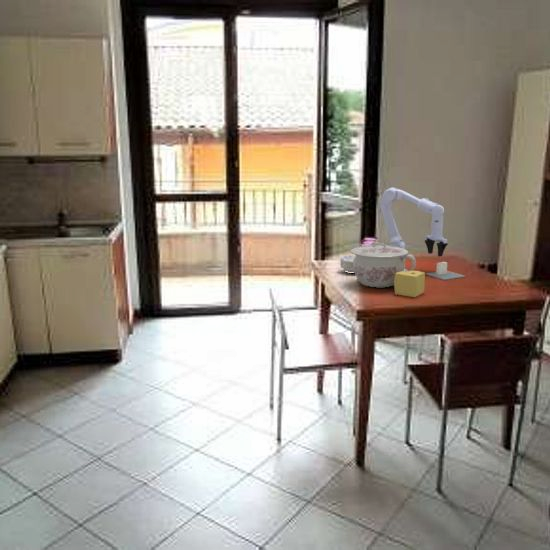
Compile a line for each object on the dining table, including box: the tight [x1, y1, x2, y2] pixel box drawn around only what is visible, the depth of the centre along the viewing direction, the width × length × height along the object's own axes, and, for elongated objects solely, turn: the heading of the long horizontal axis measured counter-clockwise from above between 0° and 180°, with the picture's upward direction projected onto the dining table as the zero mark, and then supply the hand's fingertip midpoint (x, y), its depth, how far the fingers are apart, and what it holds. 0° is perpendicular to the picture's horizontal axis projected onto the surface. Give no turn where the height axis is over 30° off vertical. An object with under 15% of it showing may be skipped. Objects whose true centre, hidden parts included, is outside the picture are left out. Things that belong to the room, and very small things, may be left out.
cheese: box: [393, 270, 426, 298], centre depth 249 cm, size 10×11×10 cm
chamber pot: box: [350, 242, 417, 289], centre depth 264 cm, size 28×28×21 cm
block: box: [435, 261, 448, 275], centre depth 282 cm, size 5×2×6 cm, turn 115°
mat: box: [425, 270, 467, 281], centre depth 281 cm, size 14×14×1 cm
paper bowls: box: [339, 254, 356, 272], centre depth 291 cm, size 15×15×8 cm
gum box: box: [359, 236, 379, 247], centre depth 309 cm, size 24×8×14 cm, turn 163°
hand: (435, 254), depth 285 cm, fingers open, 7 cm apart
